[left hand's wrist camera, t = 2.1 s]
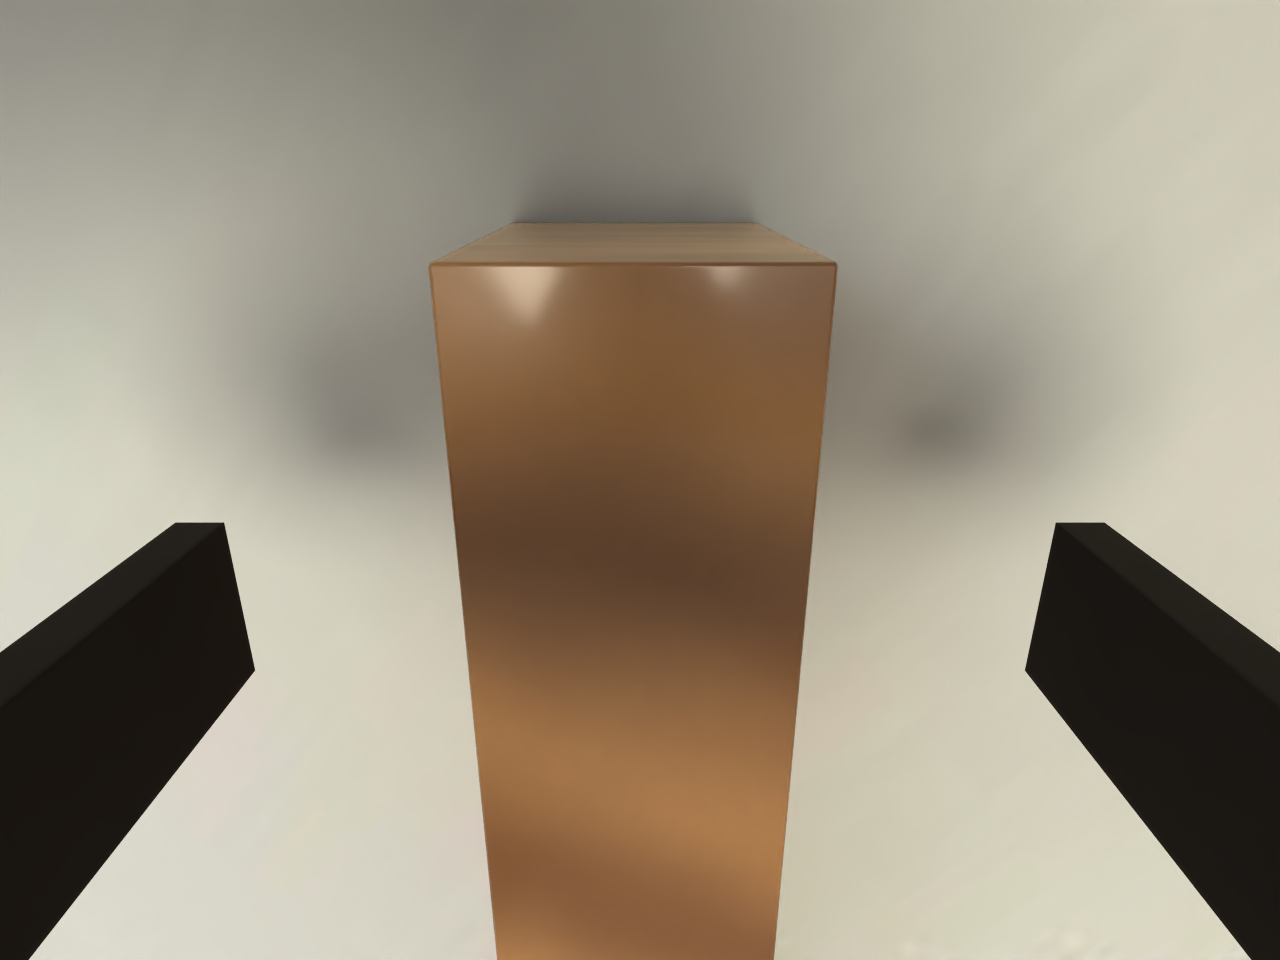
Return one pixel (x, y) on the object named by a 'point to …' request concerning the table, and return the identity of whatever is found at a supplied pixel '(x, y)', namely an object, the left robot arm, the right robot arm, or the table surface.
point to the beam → (634, 571)
